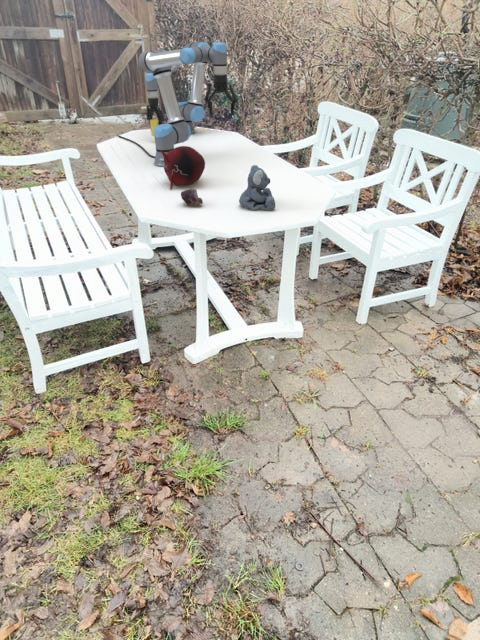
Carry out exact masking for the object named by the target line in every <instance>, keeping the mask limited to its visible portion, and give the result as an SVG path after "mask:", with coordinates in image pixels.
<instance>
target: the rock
mask: <svg viewBox="0 0 480 640" xmlns="http://www.w3.org/2000/svg"><path fill="white" fill-rule="evenodd" d="M180 197H181V200H182V201H183V202H184V203H185V205H187V206H189V207H191V206H192V207H193V206H201V205H203V204H204V202H203V199H202V197H199V195H198V190H197V189H196V188H188V189H185V190H181V192H180Z"/></svg>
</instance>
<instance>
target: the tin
mask: <svg viewBox="0 0 480 640" xmlns="http://www.w3.org/2000/svg"><path fill="white" fill-rule="evenodd" d="M158 122H159V120H158V118H152V119H151V120H150V123H149V127H150V126H151V128H150V133H151V137H154V128H155V127H156V126H158Z"/></svg>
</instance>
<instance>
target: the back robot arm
mask: <svg viewBox="0 0 480 640" xmlns="http://www.w3.org/2000/svg"><path fill="white" fill-rule="evenodd" d="M198 46H210V44H208V43H207V42H204V41H192V42H189V43H187V44H186V45H184V46H183V47H182V48H181V49H184V48H188V47H189V48H191V47H198ZM208 63H209V62H199V63H192V65H193V69H192V79H191V89H190V97H189V100H188V101H179V102H177V104H178V107H179V111H180V115H181V117H182V118H184V121H185V122H186V123H187V124H188V125H189V126H190V129H191V135H192V134H194V133H195V132H196V130H195V127H196V123H199V122H201V121H202V120H203V119H204V118H205V114H206V113H205V108H204V107H203V106H204V105H203V101H202V99H203V98H202V96H203V89H204V80H205V74H206V73H205V72H206V67H207V66H208ZM181 66H182V65H176V66H172V69H171V72H172V73H173V72H174V71H176V70H177V69H179V68H180V67H181ZM144 78H145V86H146V95H147V96H146V97H147V103H148V104H147V105H146V106H145V107H146V120H147V121H148V122H149V124H150V120H151V119H154V114H155V115H156V119H158V120H159V122H158V125H161V124H163V122H165V118H164V113H163V108H162V107H163V106H159V104H160V103H159V102H160V101H159V93H158V89H159V85H158V82H157V79H156V78H154V76H153V73H145V76H144ZM193 123H194V124H193ZM149 129H151V126H150V125H149Z"/></svg>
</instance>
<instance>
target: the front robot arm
mask: <svg viewBox="0 0 480 640" xmlns="http://www.w3.org/2000/svg"><path fill="white" fill-rule="evenodd" d="M227 53H228V52H227V44H226V43H225V42H222V41H220V42H213V43H212V46H210V45H209V46H198V47H191V48H189V47H188V48H184V49H182V48H179V49H172V50H165V49H154V50H145V51H143V52H141V53H140V55H139V56H138V61H137V62H138V66H139V68H140V69H141V71H142V72H144V73H145V74H147V73H153V76H154V78H156V79H157V82H158V85H159V88H158V89H159V92H160V95H161V99H162V103H163V106H164V109H165V114H166V117H167V122H166V123H162V124H161V125H158V126H156V127H155V128H154V136H153V137H154V145H155V155H151V154H150V152H148V151H147V150H146V149H145V148H144V147H143V146H142V145H140V144H139V143H138V142H136V141H134V140H131V139H130V138H127V137H124V136H121V135H118V134H116V137H118V138H121V139H123V140H126V141H129V142H131V143H133V144H134V145H137V146H138V147H139V148H141V149H142V151H143V152H145V154H146V155H148V156H149V157H151V158H153V159H154V165H155V166H157V167H163V168H164V156H163V154H162V153H161V150H162V151H163V152H164V153H165V154H167V153H168V152H169V151H171V150H172V149H174V148H175V145H177V144H181V143H185V142H187V141H188V140H190V138H191V135H192V134H191V129H190V126H189V125H188V124H187V123H186V122H185V121H184V118H182V117H181V115H180V111H179V107H178V104H177V103H178V100H177V96H176V92H175V89H174V85H173V82H172V77H171V75H172V74H173V72H171V69H172V66H176V65H181V66H183V65H190V64H193V63H199V62H208V63H213V74H214V75H213V83H212V82H211V83H208V88H207V91H206V93H205V97H204V101H205V102H206V103H207V109H208V111H209V115H213V102H212V100H213V98H214V97H215V95H216V94H219V93H221V94H223V93H224V94H225V95H226V96H227V98H228V99H229V101H230V102H231V103H230V116H231V117H232V116H234V115H235V114H234V113H235V111H234V110H235V109H236V103H238V102H239V99H238V97H237V94H236V91H235V89H234V86H233V83H230V84H228V75H227V73H228V63H227V57H228V56H227ZM213 88H214V89H213ZM228 89H229V90H228ZM212 90H213V91H212ZM211 92H212V93H211Z"/></svg>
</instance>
